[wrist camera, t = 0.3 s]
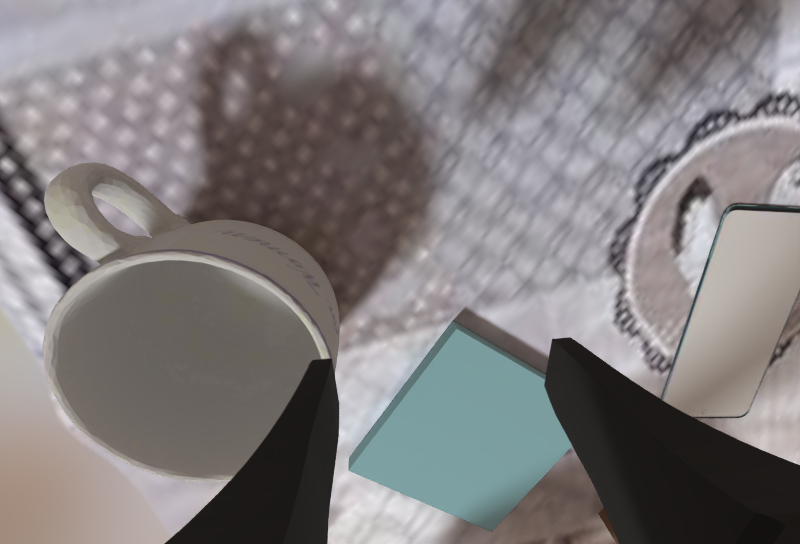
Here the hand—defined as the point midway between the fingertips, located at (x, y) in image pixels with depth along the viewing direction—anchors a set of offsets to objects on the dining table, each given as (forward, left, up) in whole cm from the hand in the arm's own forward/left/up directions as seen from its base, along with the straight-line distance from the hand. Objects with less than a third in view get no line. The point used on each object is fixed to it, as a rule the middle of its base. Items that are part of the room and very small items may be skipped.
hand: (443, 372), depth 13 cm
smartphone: (+8, -20, -11) cm, 24 cm away
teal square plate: (-7, -10, -10) cm, 16 cm away
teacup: (-5, +8, -11) cm, 14 cm away
